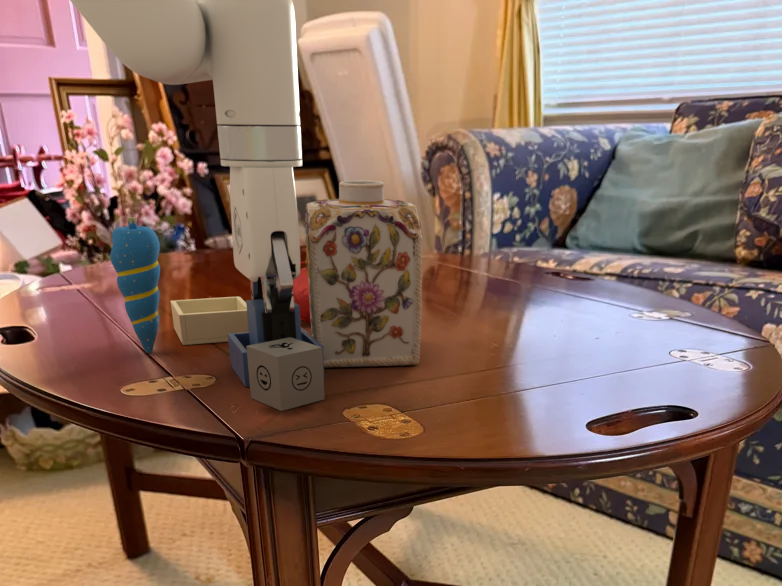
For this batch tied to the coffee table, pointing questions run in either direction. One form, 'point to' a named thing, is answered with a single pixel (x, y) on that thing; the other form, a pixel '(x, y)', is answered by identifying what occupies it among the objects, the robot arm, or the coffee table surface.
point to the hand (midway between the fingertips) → (275, 343)
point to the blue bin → (240, 352)
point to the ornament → (138, 277)
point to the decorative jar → (364, 277)
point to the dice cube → (285, 373)
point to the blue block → (256, 322)
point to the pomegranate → (302, 294)
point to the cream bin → (209, 319)
